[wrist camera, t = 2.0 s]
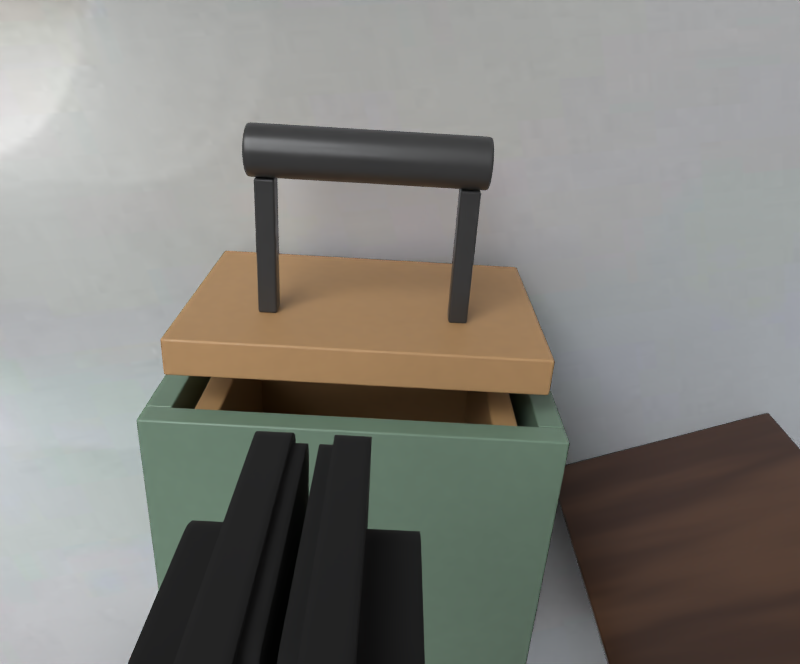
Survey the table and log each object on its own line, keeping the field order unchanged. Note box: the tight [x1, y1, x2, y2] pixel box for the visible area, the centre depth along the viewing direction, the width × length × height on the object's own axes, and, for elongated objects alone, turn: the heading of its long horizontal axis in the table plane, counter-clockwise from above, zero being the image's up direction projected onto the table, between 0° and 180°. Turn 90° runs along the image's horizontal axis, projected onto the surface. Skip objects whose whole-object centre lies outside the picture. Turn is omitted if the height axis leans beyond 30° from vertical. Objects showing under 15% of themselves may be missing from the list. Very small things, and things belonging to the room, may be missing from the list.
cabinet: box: [137, 375, 570, 664], centre depth 27 cm, size 15×13×10 cm
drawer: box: [161, 123, 555, 426], centre depth 25 cm, size 19×11×8 cm, turn 177°
